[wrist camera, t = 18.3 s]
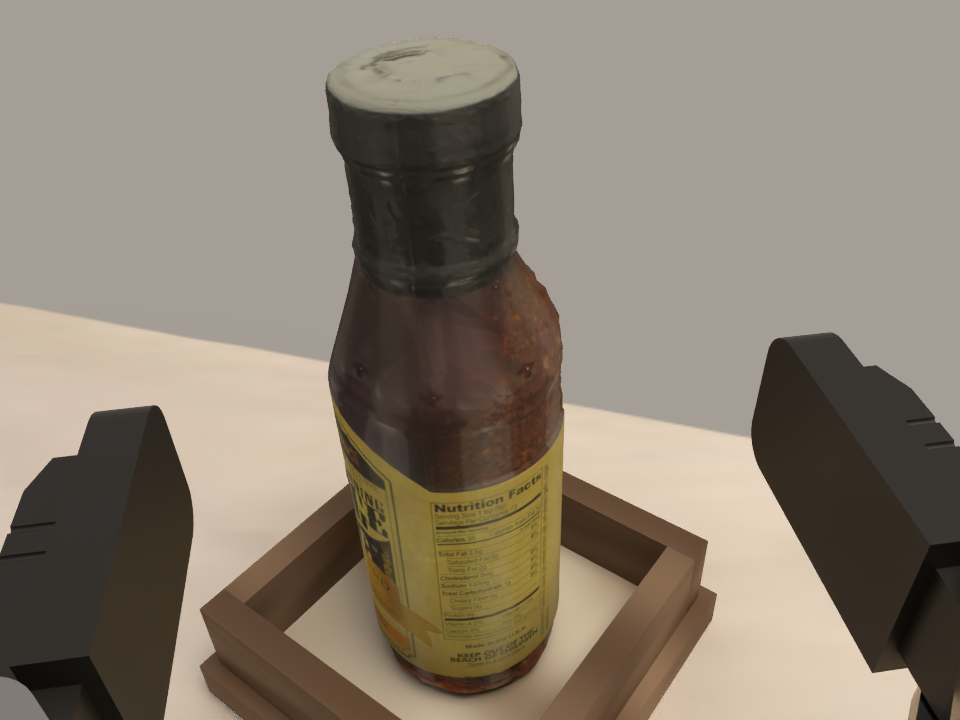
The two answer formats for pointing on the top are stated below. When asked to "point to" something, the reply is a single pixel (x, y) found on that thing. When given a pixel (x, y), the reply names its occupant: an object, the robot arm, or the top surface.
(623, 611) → the frame
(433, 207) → the sauce bottle
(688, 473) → the top surface
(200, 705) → the top surface
